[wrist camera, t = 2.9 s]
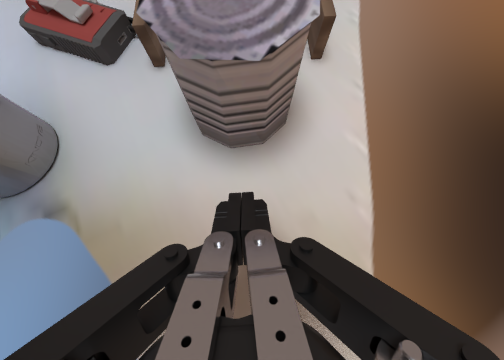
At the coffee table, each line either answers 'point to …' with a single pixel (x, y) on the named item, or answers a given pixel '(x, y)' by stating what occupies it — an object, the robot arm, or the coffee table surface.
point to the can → (234, 60)
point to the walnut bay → (316, 37)
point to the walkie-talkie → (79, 28)
